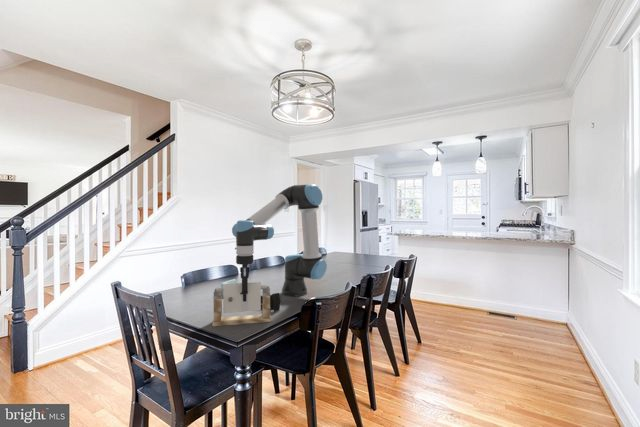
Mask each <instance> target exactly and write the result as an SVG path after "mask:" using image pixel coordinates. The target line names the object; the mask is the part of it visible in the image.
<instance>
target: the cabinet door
mask: <svg viewBox="0 0 640 427" xmlns="http://www.w3.org/2000/svg"><path fill="white" fill-rule="evenodd" d="M267 286H268V285H267V284H266V285H261V281H256V282H248V308H245V309H241V306H242V294H240V293H242V282H238V283H237V282H236V283H233V284H224V286H223V288H221V287H216V288H215V289H216V291H223V295H222V314H229V313H244V312H245V313H246V312H258V311H261V309H262V308H261V305H262V304H261V296H262V293H261V292H262V290H263V289H267Z"/></svg>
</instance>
